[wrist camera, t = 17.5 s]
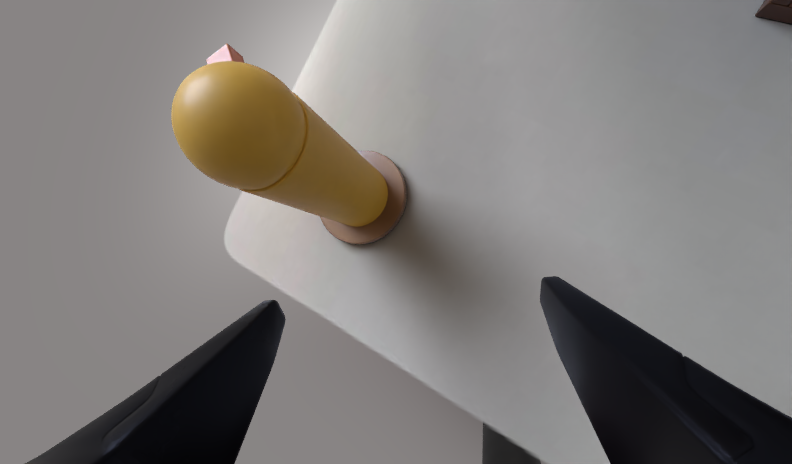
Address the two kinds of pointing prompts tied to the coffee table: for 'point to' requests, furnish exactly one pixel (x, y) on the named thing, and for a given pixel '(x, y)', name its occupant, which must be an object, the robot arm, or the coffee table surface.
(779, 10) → the chest
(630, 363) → the robot arm
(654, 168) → the coffee table surface
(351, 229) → the coaster
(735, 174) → the coffee table surface
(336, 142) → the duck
